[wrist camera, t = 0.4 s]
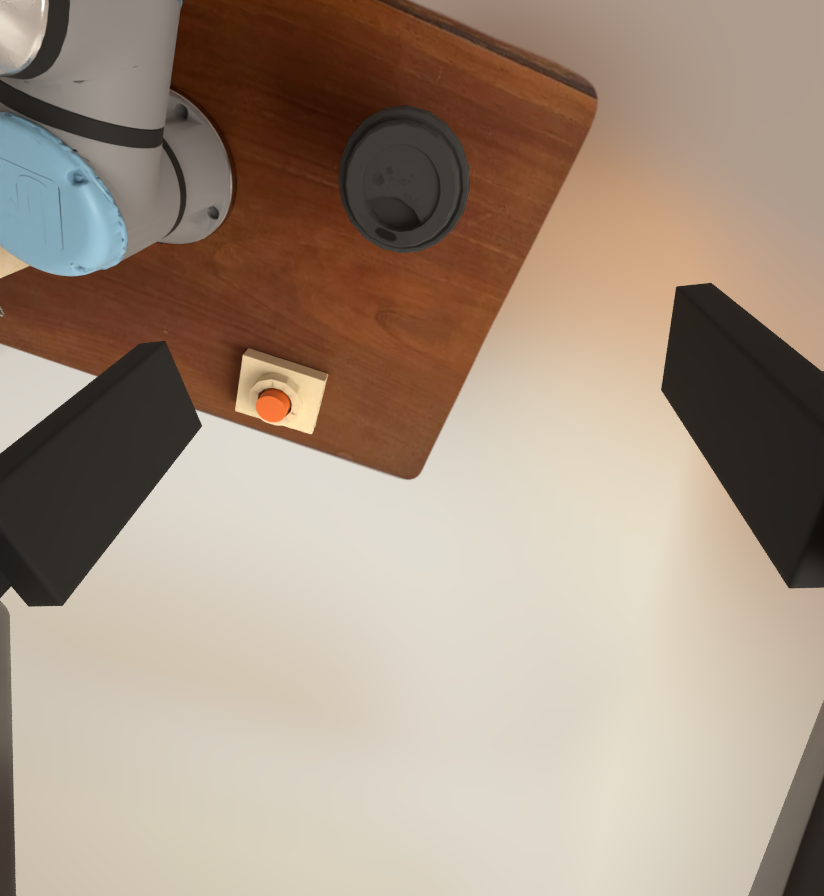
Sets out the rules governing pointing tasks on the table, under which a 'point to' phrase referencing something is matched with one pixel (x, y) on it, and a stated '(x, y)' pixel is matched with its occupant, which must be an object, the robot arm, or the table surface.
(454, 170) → the coffee cup
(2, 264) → the candle
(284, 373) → the button box
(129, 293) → the table surface
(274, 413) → the button
